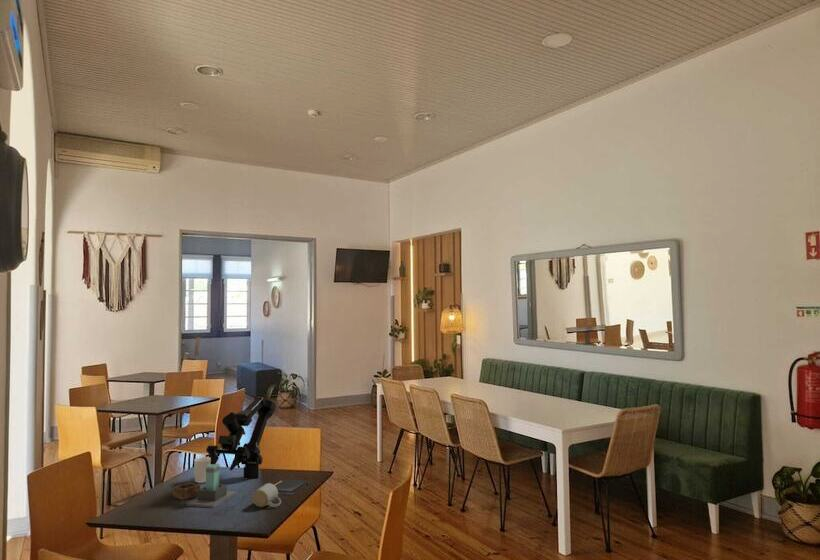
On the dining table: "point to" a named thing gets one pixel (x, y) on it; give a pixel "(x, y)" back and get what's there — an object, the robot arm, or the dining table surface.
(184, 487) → the holster
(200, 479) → the white cup
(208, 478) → the plug
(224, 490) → the port board
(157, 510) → the dining table surface
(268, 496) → the ceramic mug
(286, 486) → the grey flat slab
